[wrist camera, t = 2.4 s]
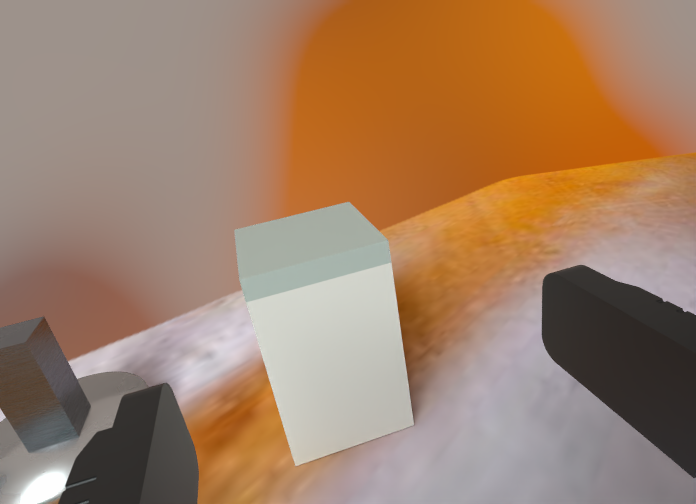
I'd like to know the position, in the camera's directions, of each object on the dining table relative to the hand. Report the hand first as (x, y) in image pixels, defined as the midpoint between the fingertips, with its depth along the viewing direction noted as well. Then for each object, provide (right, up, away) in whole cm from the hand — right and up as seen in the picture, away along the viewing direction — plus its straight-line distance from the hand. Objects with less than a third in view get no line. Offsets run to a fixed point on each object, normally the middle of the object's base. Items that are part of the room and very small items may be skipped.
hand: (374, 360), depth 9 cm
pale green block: (-1, -6, +15) cm, 16 cm away
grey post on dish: (-16, -9, +15) cm, 23 cm away
